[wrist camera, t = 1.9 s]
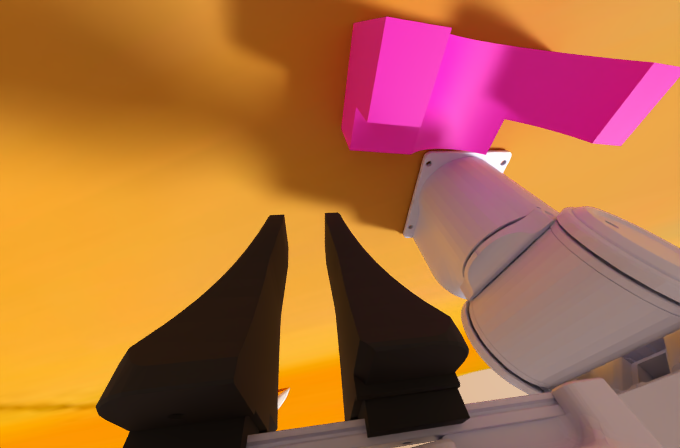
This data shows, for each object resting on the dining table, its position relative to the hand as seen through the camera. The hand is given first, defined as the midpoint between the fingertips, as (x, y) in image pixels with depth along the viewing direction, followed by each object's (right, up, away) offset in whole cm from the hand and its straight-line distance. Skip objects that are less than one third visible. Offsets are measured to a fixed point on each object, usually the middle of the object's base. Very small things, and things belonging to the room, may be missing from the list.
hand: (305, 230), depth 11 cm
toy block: (+9, +10, +7) cm, 15 cm away
